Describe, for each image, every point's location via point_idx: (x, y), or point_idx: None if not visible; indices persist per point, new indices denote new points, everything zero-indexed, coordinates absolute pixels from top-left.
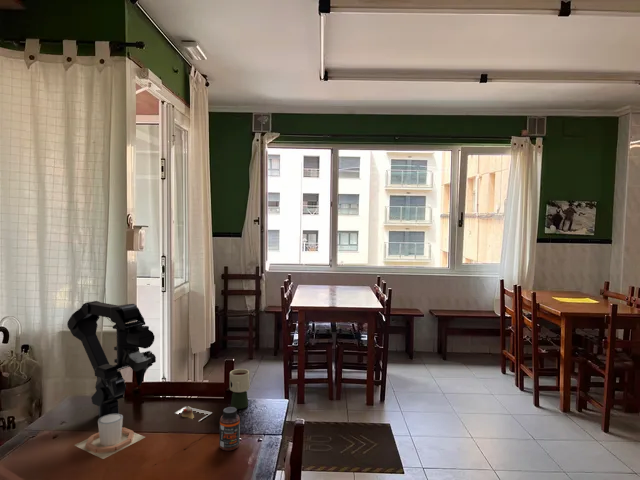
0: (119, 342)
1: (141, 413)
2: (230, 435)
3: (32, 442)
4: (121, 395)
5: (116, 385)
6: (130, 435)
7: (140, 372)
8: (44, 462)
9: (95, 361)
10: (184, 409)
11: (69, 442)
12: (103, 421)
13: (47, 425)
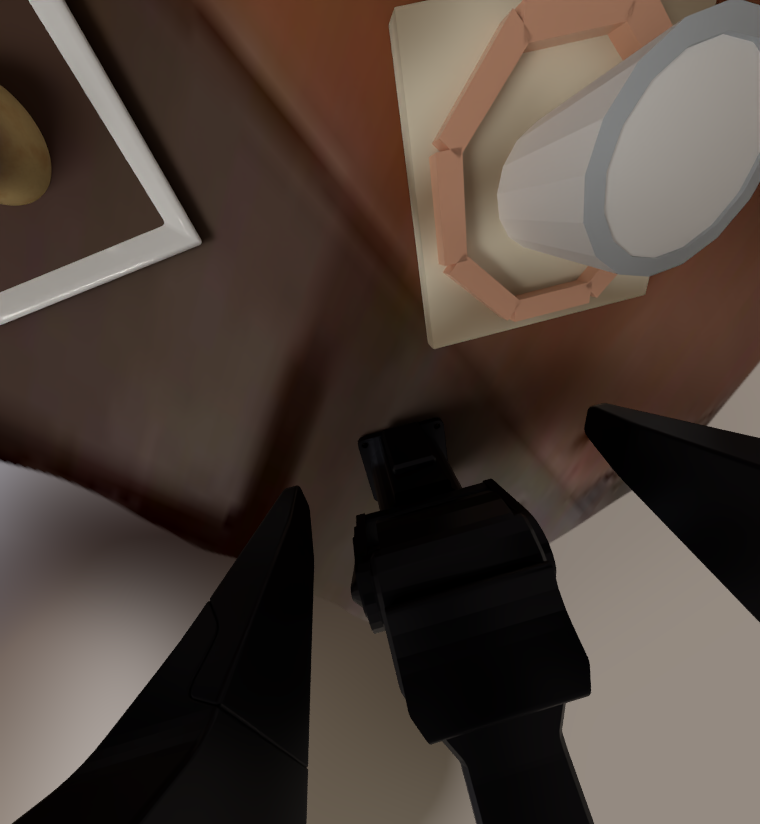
0: None
1: (273, 423)
2: None
3: None
4: (368, 528)
5: (456, 576)
6: (483, 91)
7: (259, 686)
8: (738, 266)
9: None
10: None
11: (595, 363)
12: (742, 153)
13: (547, 516)
